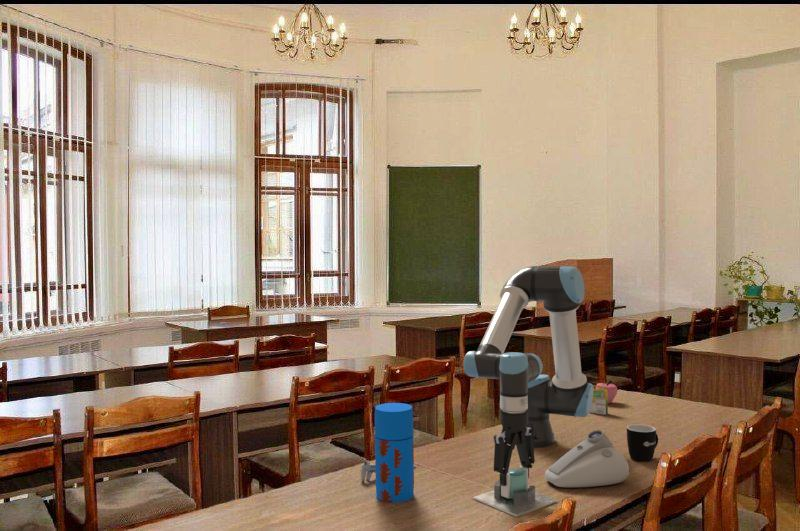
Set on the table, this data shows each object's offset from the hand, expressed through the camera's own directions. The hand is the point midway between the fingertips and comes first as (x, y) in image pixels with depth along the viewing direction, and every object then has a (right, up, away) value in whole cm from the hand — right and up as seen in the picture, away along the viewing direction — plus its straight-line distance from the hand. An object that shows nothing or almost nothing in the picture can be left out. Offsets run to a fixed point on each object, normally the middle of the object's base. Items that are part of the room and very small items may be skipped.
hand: (514, 493), depth 186 cm
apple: (+58, +2, +109) cm, 124 cm away
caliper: (-35, -2, +23) cm, 41 cm away
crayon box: (+50, +2, +93) cm, 105 cm away
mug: (+48, 0, +34) cm, 59 cm away
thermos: (-33, -2, +5) cm, 33 cm away
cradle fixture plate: (0, -2, 0) cm, 2 cm away
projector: (+23, -1, +14) cm, 27 cm away
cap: (0, 0, 0) cm, 0 cm away
